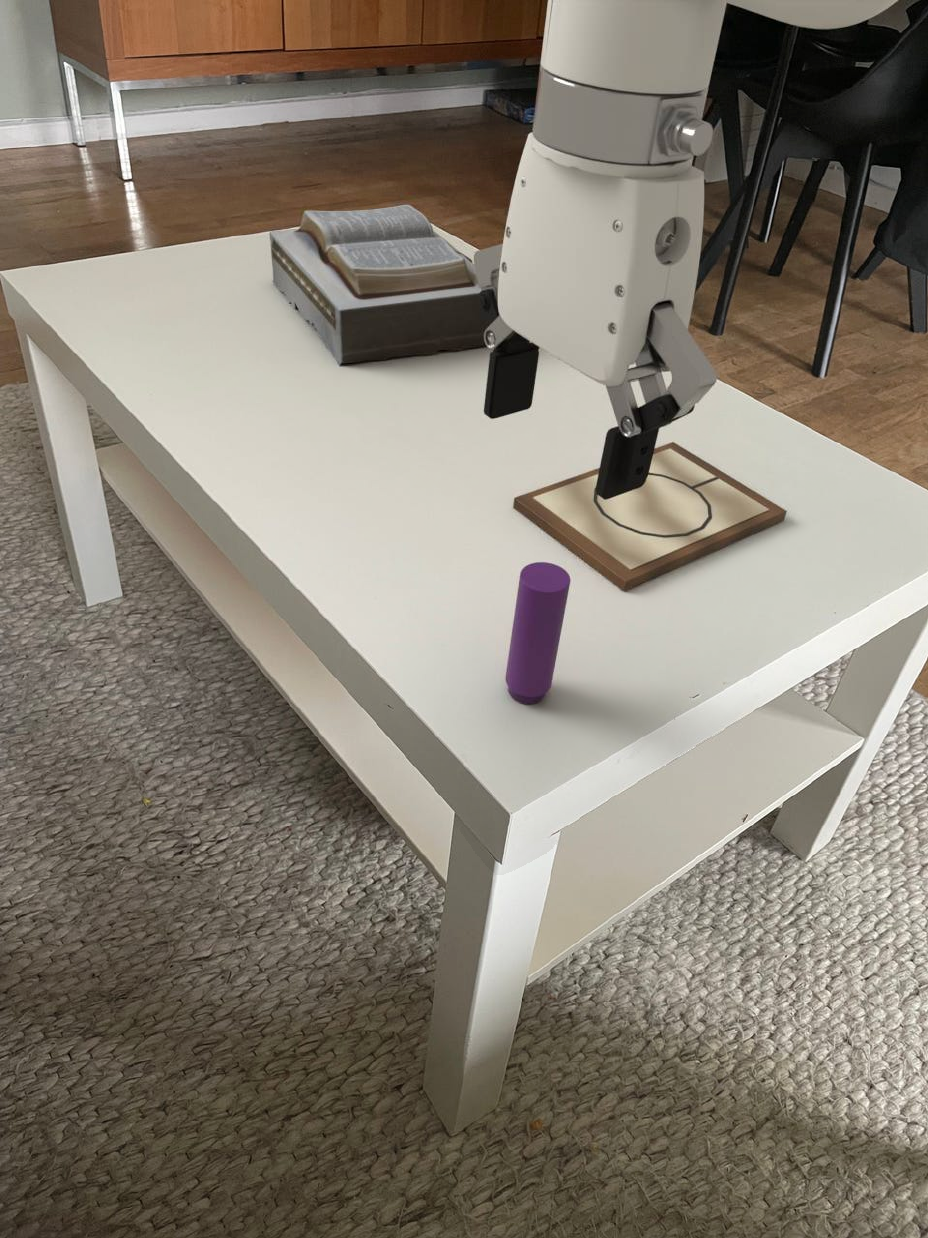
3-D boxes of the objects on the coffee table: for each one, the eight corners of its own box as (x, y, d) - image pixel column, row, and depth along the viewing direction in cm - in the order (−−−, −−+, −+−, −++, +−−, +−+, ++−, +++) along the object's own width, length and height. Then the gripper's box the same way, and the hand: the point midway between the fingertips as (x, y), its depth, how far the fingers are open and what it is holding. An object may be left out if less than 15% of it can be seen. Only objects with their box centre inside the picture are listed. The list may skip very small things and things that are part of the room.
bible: (448, 268, 131) (454, 189, 125) (509, 359, 111) (519, 270, 105) (267, 271, 125) (264, 189, 119) (297, 368, 105) (295, 275, 99)
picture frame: (671, 450, 98) (673, 440, 97) (783, 520, 90) (787, 509, 89) (512, 507, 88) (514, 495, 87) (623, 591, 80) (626, 580, 79)
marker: (553, 681, 71) (574, 567, 64) (545, 712, 68) (566, 596, 62) (508, 671, 71) (525, 557, 65) (499, 701, 69) (515, 586, 62)
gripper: (820, 166, 42) (719, 506, 53) (555, 71, 53) (516, 373, 63) (698, 185, 39) (617, 547, 50) (439, 79, 49) (418, 399, 60)
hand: (560, 449), depth 57 cm, fingers open, 9 cm apart
